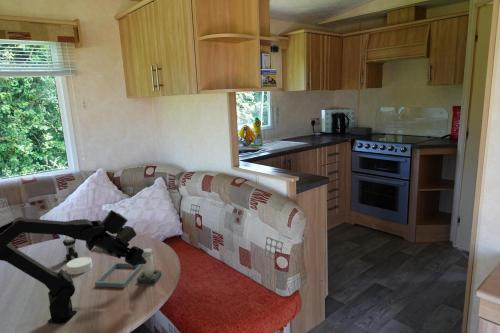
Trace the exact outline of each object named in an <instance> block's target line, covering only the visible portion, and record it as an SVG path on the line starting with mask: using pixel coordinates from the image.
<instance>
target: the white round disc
mask: <svg viewBox="0 0 500 333" xmlns="http://www.w3.org/2000/svg"><path fill="white" fill-rule="evenodd" d="M65 267H66V273H67V274H71V276H72V275H81V274H84V273H86V272H88V271H90V270H91V269H92V268H93V260H92V258H91V257H88V256H80V257H78V258H76V259H73V260H69V261H67V263H66V265H65Z"/></svg>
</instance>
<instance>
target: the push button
mask: <svg viewBox="0 0 500 333" xmlns="http://www.w3.org/2000/svg"><path fill="white" fill-rule="evenodd" d="M76 243H77V239H74V238H71V237H68V236H67V237H65V239H64V240H63V241H62V244H63V246H65V250H66V253H65V257H62V258H61V259H62V262H64V261H67V262H69V261H71V260H73V259H76V258H79V254H78V251H77V250H76V246H75V244H76Z"/></svg>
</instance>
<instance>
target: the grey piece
mask: <svg viewBox="0 0 500 333" xmlns="http://www.w3.org/2000/svg"><path fill="white" fill-rule="evenodd" d="M154 274H155V276H154V277H153V278H144V272H143V271H142V272H141V273H140V274H139V275H138V276H137V278H136V283H135V284H134V286H140V287H141V286H142V287H144V286H145V287H155V286H156V285H157V283H158V282H159V280H160V279H161V278H162V276H163V275H164V272H162V270H159V269H154Z"/></svg>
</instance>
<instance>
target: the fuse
mask: <svg viewBox="0 0 500 333" xmlns="http://www.w3.org/2000/svg"><path fill="white" fill-rule="evenodd" d="M142 250H144V252H143V254H142V256H143V258H144V259H145V260H146V261H147V262H146V264H143V268H142V269H143V270H142V272H144V278H153V277H154V276H155V274H154V270H155V268H154V260H153V258H154V256H153V249H152V248H144V249H142Z"/></svg>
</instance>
